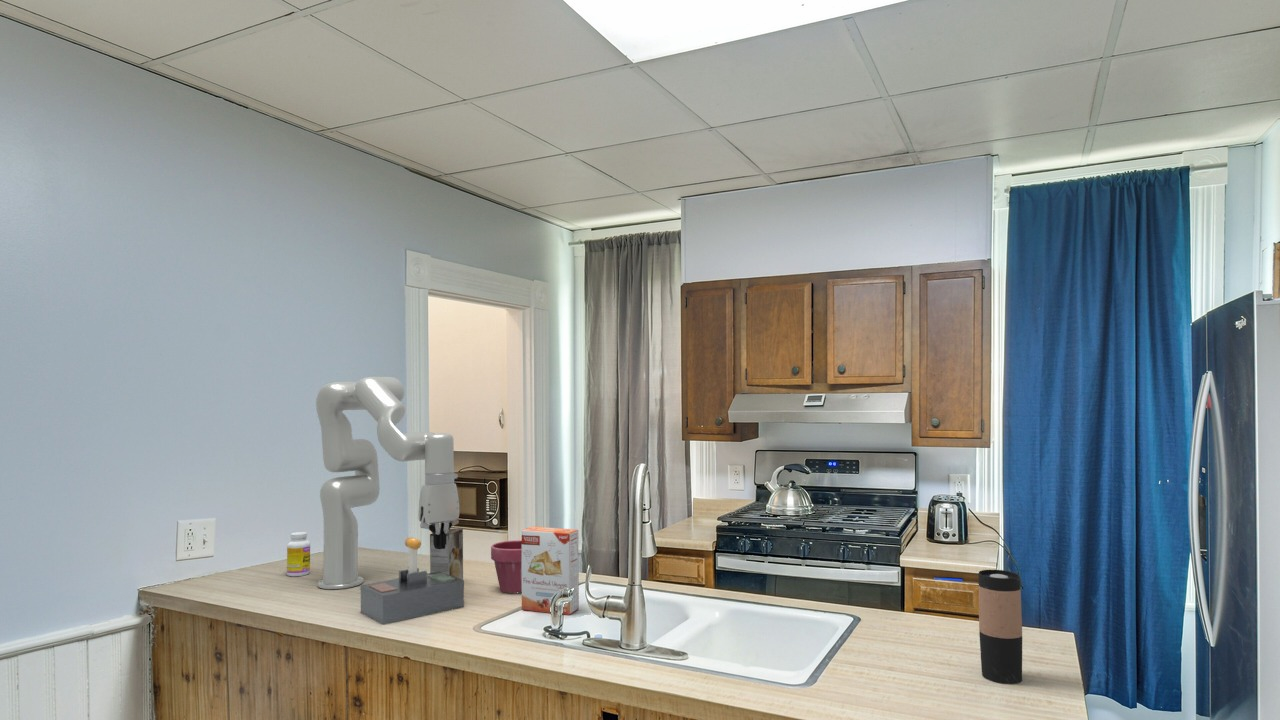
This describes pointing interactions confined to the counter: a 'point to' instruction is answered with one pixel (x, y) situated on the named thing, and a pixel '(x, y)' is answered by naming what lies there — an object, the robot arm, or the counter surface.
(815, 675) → the counter surface
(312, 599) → the counter surface
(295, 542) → the supplement bottle
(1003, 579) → the travel mug
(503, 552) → the plant pot
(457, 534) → the coffee box
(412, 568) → the breaker lever
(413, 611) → the breaker box
